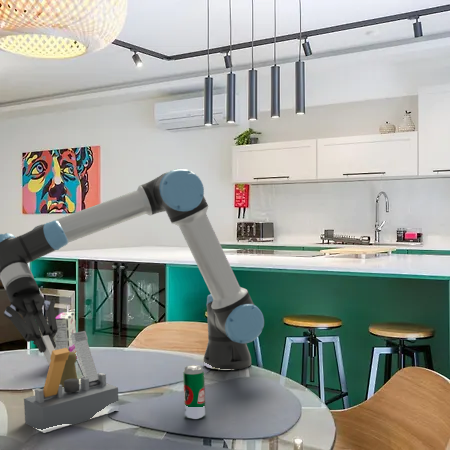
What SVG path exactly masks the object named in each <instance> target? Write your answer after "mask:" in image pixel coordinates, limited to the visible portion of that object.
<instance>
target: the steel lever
mask: <svg viewBox="0 0 450 450" xmlns="http://www.w3.org/2000/svg"><path fill="white" fill-rule="evenodd" d="M70 336H71V339H72V343H73V344H74V346H75V349H76V352H77V360H78V361H79V365H80V368H81V372H82V375H83V377H86V378H88V379H89V387H93V386H97V385H100V381H99V377H98V374H97V373H98V371H97V367H96V365H95V362H94V358H93V355H92V352H91V349H90V346H89V343H88V339H89V338H88V336H87V332H86V330H83V331H78V332H77V331H76V333H72V334H71V335H70Z"/></svg>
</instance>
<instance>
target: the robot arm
mask: <svg viewBox="0 0 450 450" xmlns="http://www.w3.org/2000/svg"><path fill="white" fill-rule="evenodd" d="M204 187H205V186H204V184H203V182H202V180H201V178H200V177H199V176H198V175H197V174H196V173H195V172H193V171H191V170H189V169H185V168H184V169H183V168H175V169H172V170H170V171H166V172H165V173H162V174H160V175H159V176H157V177H155V178H153V179H152V180H149V181H148V182H145V183H143V184H141V185H138V187H137V189H136V190H134V191H132V192H129V193H126V194H123V195H120V196H118V197H115V198H114V197H113V198H112V199H109V200H106V201H103V202H101V203H98V204H96V205H93V206H90V207H87V208H84V209H82V210H79V211H76V212H73V213H71V214H68V215H65V216H62V217H60V218H57V219H55V220H52V221H51V220H50V221H49V222H46V223H44V224H39V225H36V226H35V227H34V228H33V229H31V230H30V231H27V232H26V233H24V234H21V235H20V234H19V235H18V236H15V235H14V234H12V233H10V232H6V233H4V234H3V233H0V280H1V283H2V287H4V290H5V293H6V296H7V298H8V301H9V302H10V305H7V306H6V307H5V311H3V316H4V317H6V319H9V320H10V321H11V323H12V324H13V325H14V327H15V328H16V330H17V331H18V332H19V334H20V335H21V336H22V337H23V339H24V340H25V341H26V342H28V343H30V342H32V344H34V346H35V345H36V347H37V349H38V351H39V352H40V353H43V355H44V357H45V360H46V362H47V364H48V366H50V362H51V359H50V358H51V354H52V351H53V350H55V347H56V344H55V340H54V336H55V335H56V333H57V331H58V329H57V323H56V317H57V316H56V312H55V311H56V310H55V305H56V301H55V300H54V299H52V300H50V301H49V300H47V299H46V300H45V297H44V296H43V295H42V294H41V292H40V288H39V285H38V284H37V281H36V279H35V278H34V275H33V273H32V271H31V268H30V266H29V263H31V262H34V261H36V260H37V259H40V258H41V257H44V256H47V255H49V254H51V253H53V252H55V251H59V250H60V249H61V248H64V247H65V246H66V245H68V243H71V242H73V241H77V240H79V239H83V238H85V237H87V236H91V235H93V234H95V233H98V232H101V231H103V230H106V229H109V228H112V227H114V226H117V225H119V224H122V223H125V222H128V221H130V220H133V219H135V218H138V217H141V216H143V215H148V216H153V215H155V214H159V213H163V212H166V214H167V217H168V219H169V220H170V222H171V224H172V225H175V226H178V227H179V230H180V232H181V234H182V236H183V238H184V240H185V243H186V244H187V246H188V248H189V251H190V253H191V254H192V257H193V259H194V261H195V263H196V265H197V268H198V270H199V272H200V274H201V276H202V277H203V280H204V282H205V284H206V287H207V289H208V291H209V293H210V294H208V295H207V297H206V304H205V305H206V310H207V312H206V314H207V315H206V316H207V335H208V339H207V340H208V342H207V344H206V349H205V352H204V357H203V363H204V362H205V363H207V364H209V365H211V366H212V367H215V368H220V369H239V370H242V369H246V368H248V367H250V366H251V365H252V356H251V353H250V350H249V347H248V343H252V342H253V341H255V340H256V339H258V337H259V336H260V335H261V333H262V331H263V329H264V326H265V318H264V314H263V312H262V310H261V309H260V308H259V307H258V306H257V305H255V303H254V302H253V300H252V297H251V295H250V293H249V290H248V289H246V288H244V287H241V286H240V284H239V282H238V280H237V277H236V275H235V273H234V271H233V268H232V266H231V265H230V263H229V260H228V258H227V255H226V254H225V251H224V249H223V247H222V245H221V243H220V241H219V238H218V236H217V234H216V232H215V230H214V227H213V225H212V223H211V221H210V219H209V216H208V214H207V212H208V209H209V205H208V202H207V200H206V198H205V196H204V194H205V193H204V192H205V191H204V189H205V188H204ZM43 307H44V310H45V311H46V317H45V314H44V313H43V312H44V310H43Z"/></svg>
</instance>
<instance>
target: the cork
mask: <svg viewBox="0 0 450 450" xmlns="http://www.w3.org/2000/svg"><path fill="white" fill-rule="evenodd" d="M76 359H77V360H78V356H76V354H75V353H74V352H69V356H68V360H66V363H65V366H64V370H63V374H62V377H61V381H60V385H62V387H64V381H65V380H67V379H79V378H78V373H77V368H76V363H77V360H76Z"/></svg>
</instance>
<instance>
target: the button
mask: <svg viewBox="0 0 450 450" xmlns="http://www.w3.org/2000/svg"><path fill="white" fill-rule="evenodd" d="M79 384H80V379H79V378H78V379H67V380H65V381H64V392H67V393H72V392H77V391H79Z"/></svg>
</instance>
